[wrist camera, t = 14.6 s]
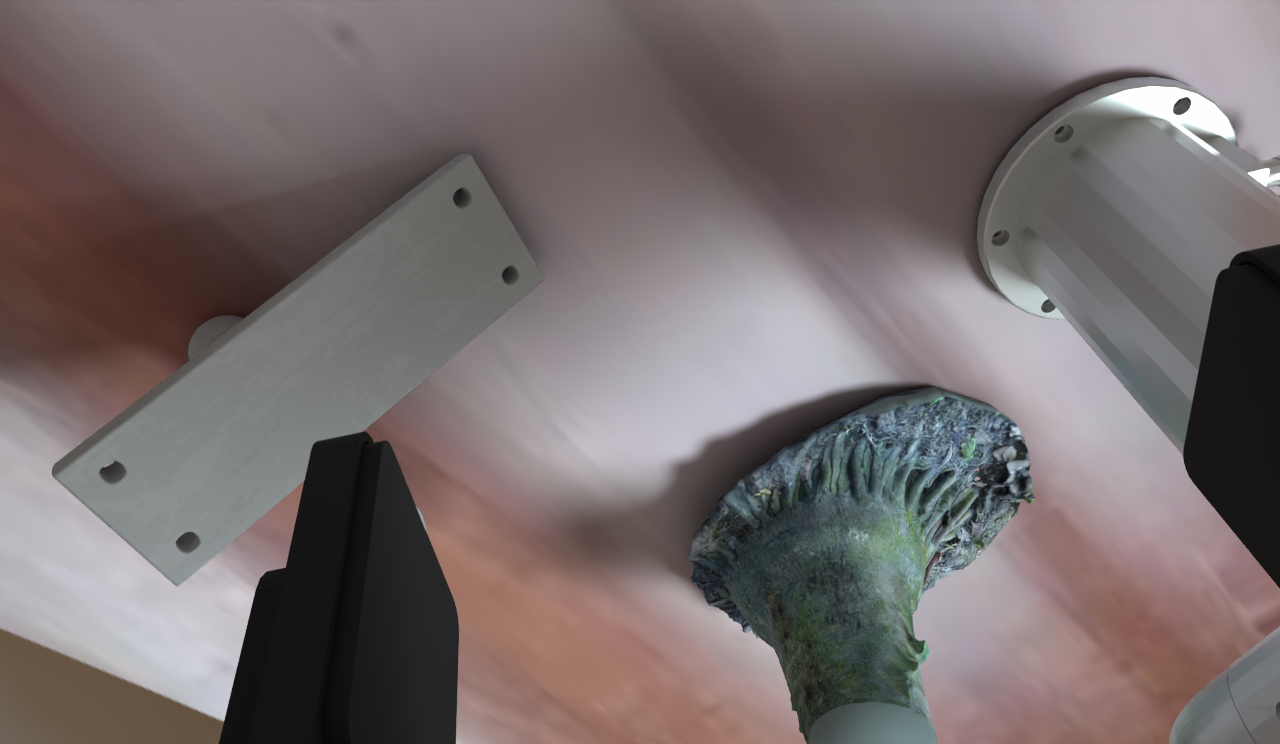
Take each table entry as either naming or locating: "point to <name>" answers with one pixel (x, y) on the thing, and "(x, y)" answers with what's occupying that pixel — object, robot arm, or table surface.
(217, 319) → the door handle
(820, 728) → the tree stump
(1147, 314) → the robot arm
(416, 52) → the table surface
